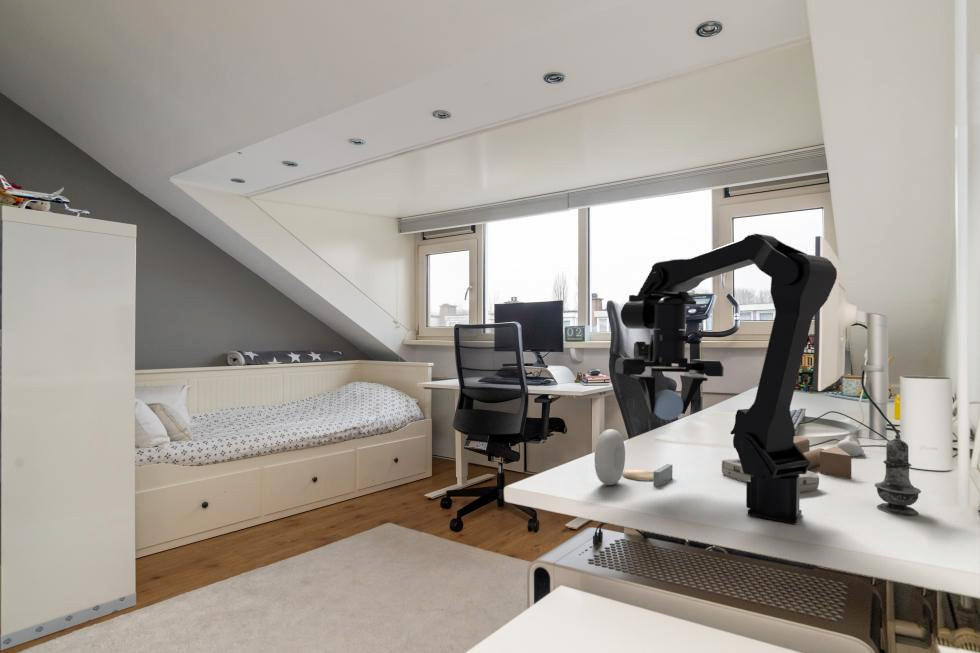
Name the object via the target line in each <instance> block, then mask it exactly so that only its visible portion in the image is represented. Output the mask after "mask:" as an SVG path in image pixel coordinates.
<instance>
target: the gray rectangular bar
mask: <svg viewBox="0 0 980 653" xmlns="http://www.w3.org/2000/svg"><path fill="white" fill-rule="evenodd" d="M653 472H654V475H653V481H652V482H653V486H656V487H660V486H661V485H663V483H664V484H665V483H667V482H669V481H671V479H673V464H669V463H666V464H665V465H663V466H661V467H659V468H657V469H655V470H653Z"/></svg>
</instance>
